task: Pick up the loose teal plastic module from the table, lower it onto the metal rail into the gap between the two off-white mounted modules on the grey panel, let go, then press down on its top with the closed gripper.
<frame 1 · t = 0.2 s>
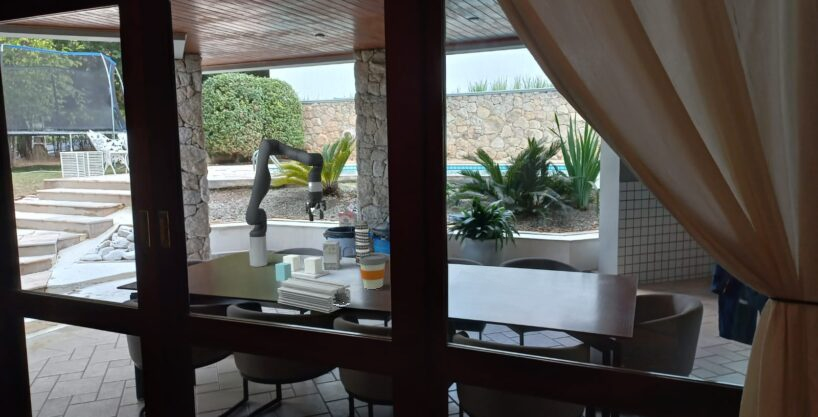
hand: (316, 220, 302), 29 cm above the table, fingers open, 8 cm apart
rail panel: (302, 273, 304), on the table
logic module: (283, 280, 292), on the table
circuit breaker: (333, 267, 318), on the table
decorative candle: (363, 264, 326), on the table
aluminum extrusion profile: (313, 304, 248), on the table
reusable coffee cup: (373, 287, 272), on the table
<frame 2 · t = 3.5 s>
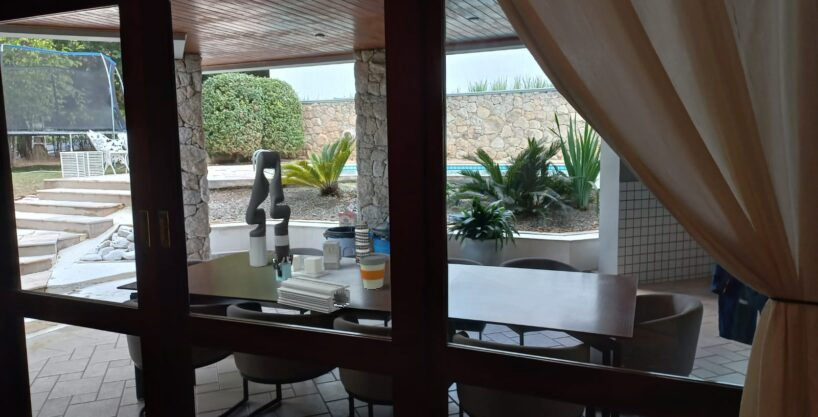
hand: (283, 275, 291), 2 cm above the table, fingers closed on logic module, 5 cm apart
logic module: (284, 279, 292), on the table, touching gripper
everything else where it was.
when the fingers open (5 cm above the table, at t = 9.9 s): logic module drops 1 cm, resting on rail panel.
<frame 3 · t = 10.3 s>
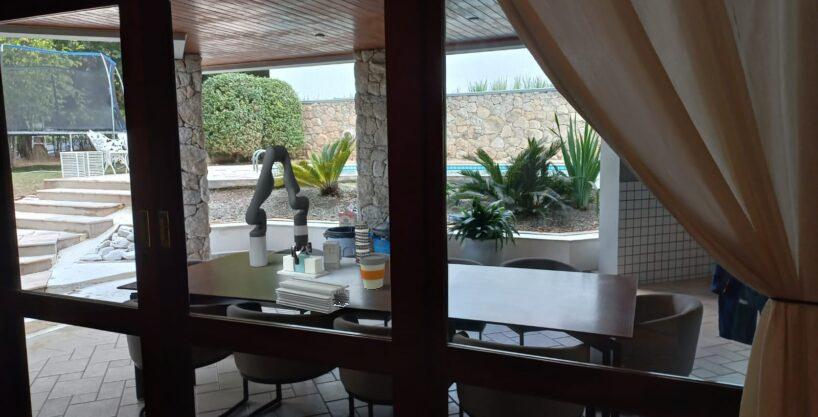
hand: (302, 262, 304), 6 cm above the table, fingers open, 8 cm apart
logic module: (302, 270, 304), point 2 cm above the table, touching rail panel
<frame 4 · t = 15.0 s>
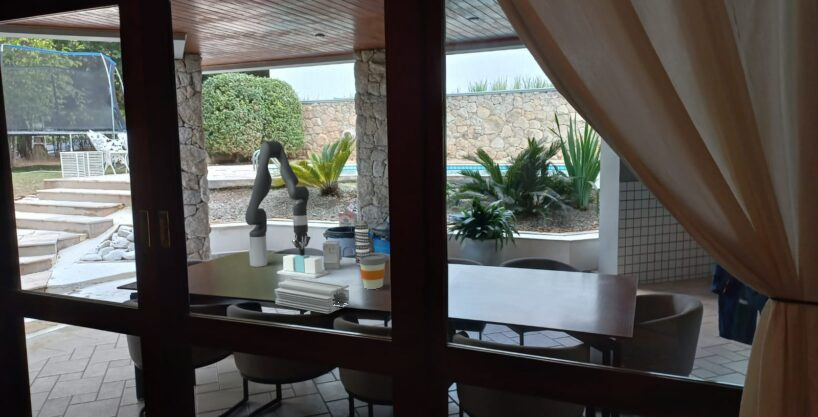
hand: (302, 255, 303), 10 cm above the table, fingers closed
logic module: (302, 270, 304), point 2 cm above the table, touching gripper, rail panel
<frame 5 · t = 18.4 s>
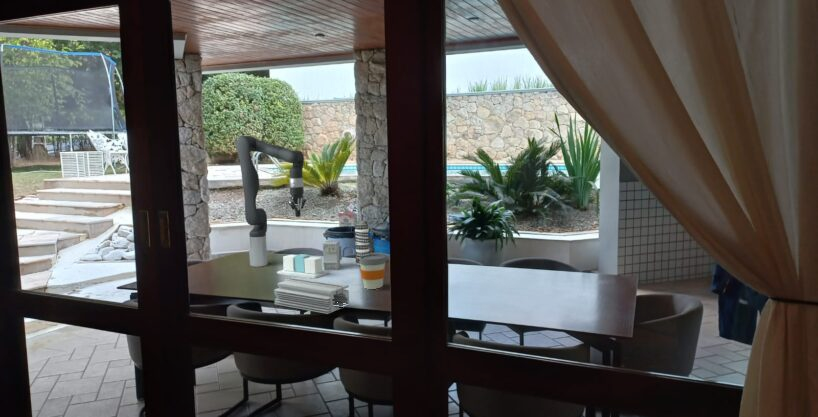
hand: (298, 216, 317), 29 cm above the table, fingers closed
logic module: (302, 270, 304), point 2 cm above the table, touching rail panel
at the end: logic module 0.0 cm off-centre on the rail panel, point 1.6 cm above the rail panel's base; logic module tilted 0°; the gripper is holding nothing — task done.
